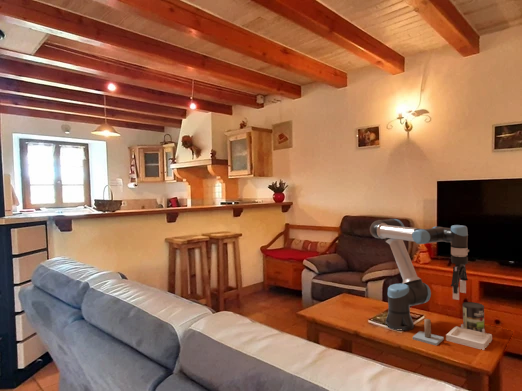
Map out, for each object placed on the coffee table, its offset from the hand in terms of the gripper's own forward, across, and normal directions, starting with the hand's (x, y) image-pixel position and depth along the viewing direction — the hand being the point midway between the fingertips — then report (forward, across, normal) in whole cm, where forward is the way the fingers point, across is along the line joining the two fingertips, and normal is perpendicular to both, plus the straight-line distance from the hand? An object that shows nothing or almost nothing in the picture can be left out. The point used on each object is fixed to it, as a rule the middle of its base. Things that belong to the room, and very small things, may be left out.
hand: (459, 295), depth 181 cm
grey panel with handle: (+24, -10, +13) cm, 28 cm away
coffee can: (+23, +18, -3) cm, 29 cm away
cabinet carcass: (+23, +2, -4) cm, 23 cm away
